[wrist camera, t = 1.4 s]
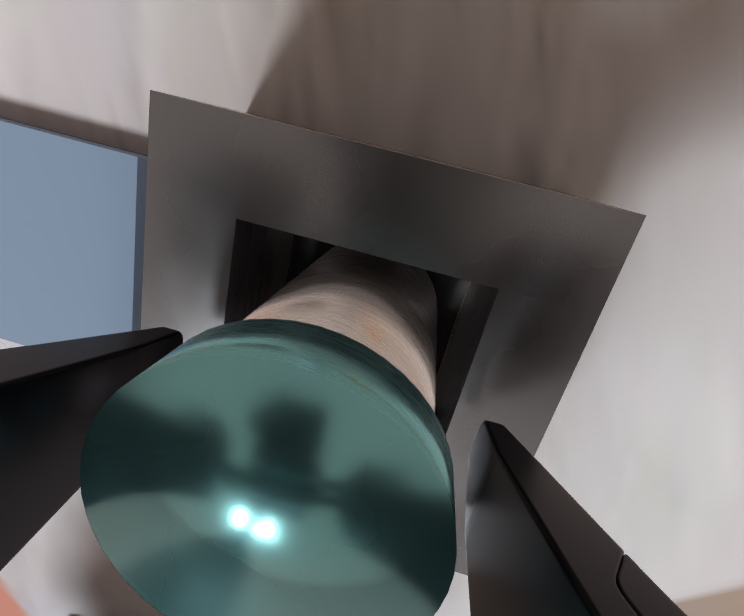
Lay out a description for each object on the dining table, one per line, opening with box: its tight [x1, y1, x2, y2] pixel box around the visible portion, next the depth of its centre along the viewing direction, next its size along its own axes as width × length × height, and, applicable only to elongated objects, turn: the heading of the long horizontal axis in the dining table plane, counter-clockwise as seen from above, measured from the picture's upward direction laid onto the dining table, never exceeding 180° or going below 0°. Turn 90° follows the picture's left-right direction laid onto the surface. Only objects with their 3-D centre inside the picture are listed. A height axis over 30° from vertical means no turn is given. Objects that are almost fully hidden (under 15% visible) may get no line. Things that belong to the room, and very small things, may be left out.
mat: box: [0, 118, 148, 346], centre depth 15 cm, size 8×8×1 cm
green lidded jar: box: [80, 246, 457, 616], centre depth 10 cm, size 5×5×9 cm
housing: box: [141, 90, 646, 575], centre depth 12 cm, size 10×10×4 cm
